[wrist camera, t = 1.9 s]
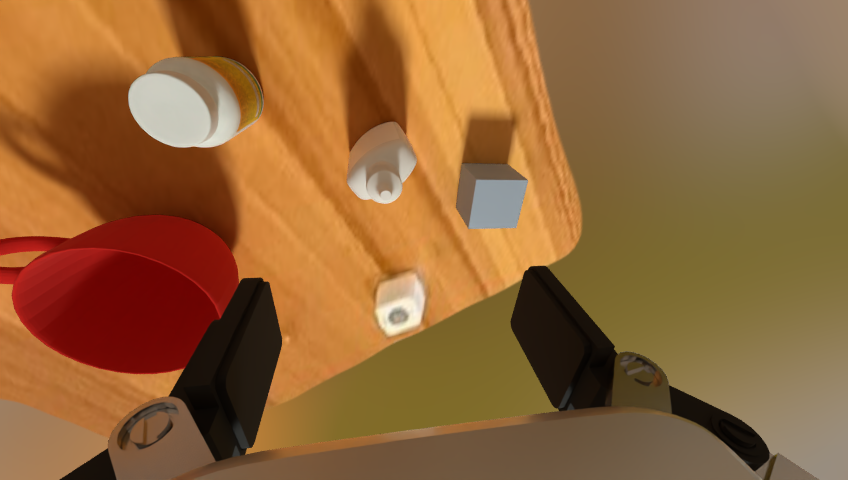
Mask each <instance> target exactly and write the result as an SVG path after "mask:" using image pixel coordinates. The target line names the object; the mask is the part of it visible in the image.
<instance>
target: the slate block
mask: <svg viewBox="0 0 848 480" xmlns="http://www.w3.org/2000/svg"><path fill="white" fill-rule="evenodd" d="M527 183H528V180H527V179H526V178H525V177H523V176H522V175H521V174H519V173H518V172H517V171H516V170H514V169H513V168H512V167H511V166H509V165H508V164H481V163H462V165H461V173H460V180H459V188H458V195H457V203H456V208H457V210H458V212H459V214H460V215H461V217H462V219H463V220H464V222H465V224H466V225H467V227H468V229H485V228H516V227H517V223H518V219H519V215H520V211H521V207H522V203H523V199H524V195H525V191H526V187H527Z"/></svg>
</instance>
